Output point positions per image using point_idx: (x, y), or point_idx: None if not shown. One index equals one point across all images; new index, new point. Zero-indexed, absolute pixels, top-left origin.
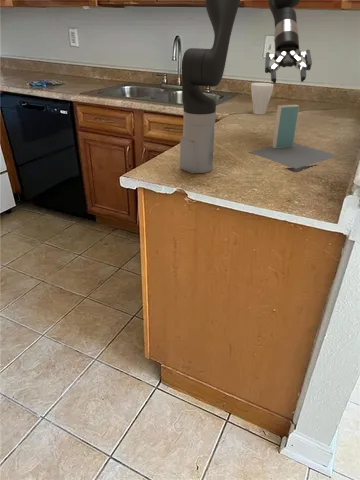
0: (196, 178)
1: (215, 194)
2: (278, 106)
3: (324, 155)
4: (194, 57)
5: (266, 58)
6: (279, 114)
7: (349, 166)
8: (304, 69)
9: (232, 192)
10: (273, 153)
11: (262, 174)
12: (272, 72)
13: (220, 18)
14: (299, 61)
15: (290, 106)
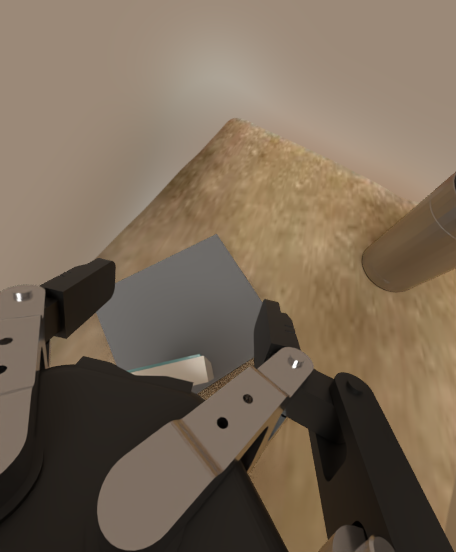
0: (384, 226)
1: (352, 177)
2: (207, 376)
3: (120, 299)
4: None
5: (425, 516)
6: (206, 361)
7: (100, 257)
8: (46, 289)
9: (330, 180)
10: (229, 321)
11: (275, 233)
12: (291, 344)
13: None
14: (29, 316)
15: (159, 366)
